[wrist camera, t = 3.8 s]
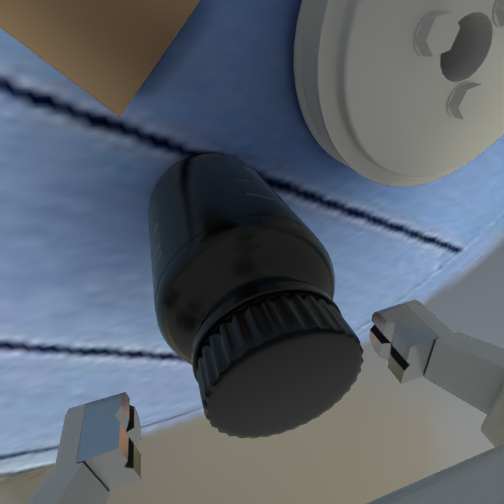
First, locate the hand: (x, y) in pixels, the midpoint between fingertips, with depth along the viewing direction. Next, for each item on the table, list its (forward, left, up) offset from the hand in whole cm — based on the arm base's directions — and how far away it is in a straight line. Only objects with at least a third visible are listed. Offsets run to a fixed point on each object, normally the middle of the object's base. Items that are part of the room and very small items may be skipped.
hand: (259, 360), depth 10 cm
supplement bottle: (0, 0, -11) cm, 11 cm away
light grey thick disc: (-14, -1, -11) cm, 17 cm away
